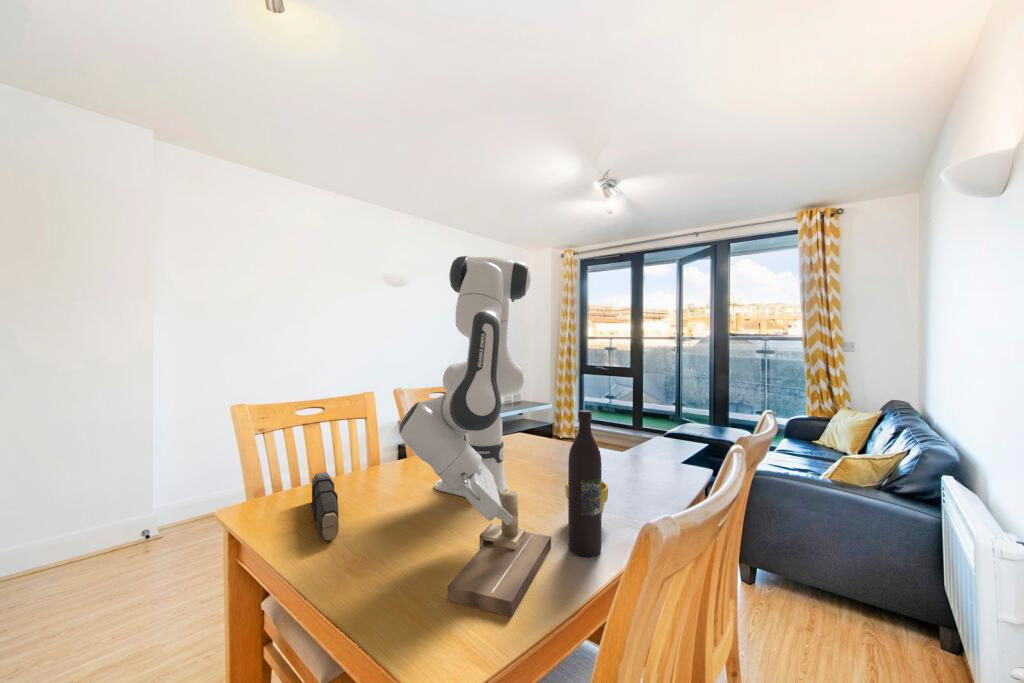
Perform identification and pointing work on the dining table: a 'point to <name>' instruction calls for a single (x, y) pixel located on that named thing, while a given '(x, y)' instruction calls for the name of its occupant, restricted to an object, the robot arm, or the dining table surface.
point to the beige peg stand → (505, 526)
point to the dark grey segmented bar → (325, 505)
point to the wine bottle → (584, 491)
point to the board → (499, 575)
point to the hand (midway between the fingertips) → (507, 511)
